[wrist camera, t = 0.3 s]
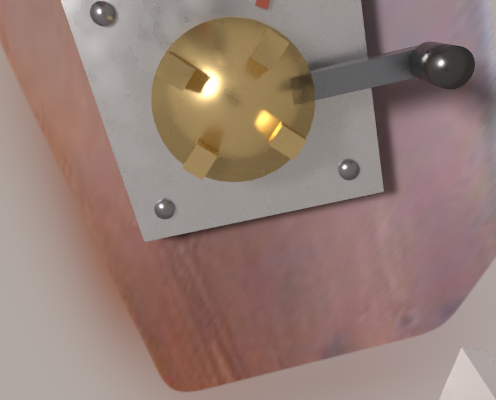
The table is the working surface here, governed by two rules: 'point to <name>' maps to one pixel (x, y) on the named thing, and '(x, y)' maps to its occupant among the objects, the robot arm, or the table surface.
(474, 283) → the table surface
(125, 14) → the flange plate
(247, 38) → the ball knob lever
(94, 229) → the table surface
